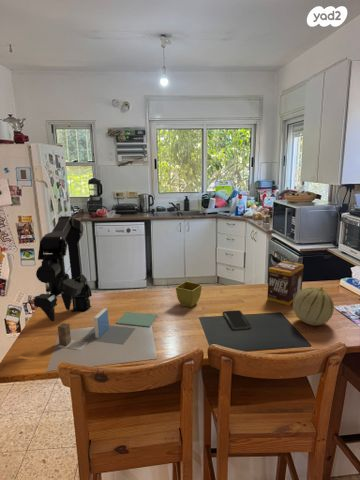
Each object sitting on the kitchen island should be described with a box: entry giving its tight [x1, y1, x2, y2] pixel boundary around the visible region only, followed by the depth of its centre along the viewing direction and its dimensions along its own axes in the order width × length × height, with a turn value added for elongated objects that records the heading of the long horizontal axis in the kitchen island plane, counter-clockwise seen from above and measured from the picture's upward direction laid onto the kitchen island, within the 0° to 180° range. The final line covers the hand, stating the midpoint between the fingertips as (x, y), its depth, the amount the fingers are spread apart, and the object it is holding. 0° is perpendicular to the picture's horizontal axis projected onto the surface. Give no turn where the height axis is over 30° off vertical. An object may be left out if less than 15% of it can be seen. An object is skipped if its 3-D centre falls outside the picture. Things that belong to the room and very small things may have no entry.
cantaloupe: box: [292, 286, 335, 326], centre depth 130 cm, size 15×15×15 cm
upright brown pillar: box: [57, 322, 89, 351], centre depth 117 cm, size 9×5×8 cm, turn 76°
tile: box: [93, 307, 110, 338], centre depth 125 cm, size 2×8×8 cm, turn 166°
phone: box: [222, 310, 252, 331], centre depth 135 cm, size 8×1×15 cm
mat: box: [81, 324, 137, 345], centre depth 125 cm, size 16×12×1 cm
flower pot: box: [175, 281, 203, 308], centre depth 150 cm, size 9×9×9 cm
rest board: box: [115, 311, 158, 328], centre depth 136 cm, size 14×10×1 cm
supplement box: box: [267, 260, 305, 306], centre depth 155 cm, size 10×15×16 cm
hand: (60, 315), depth 116 cm, fingers open, 9 cm apart
